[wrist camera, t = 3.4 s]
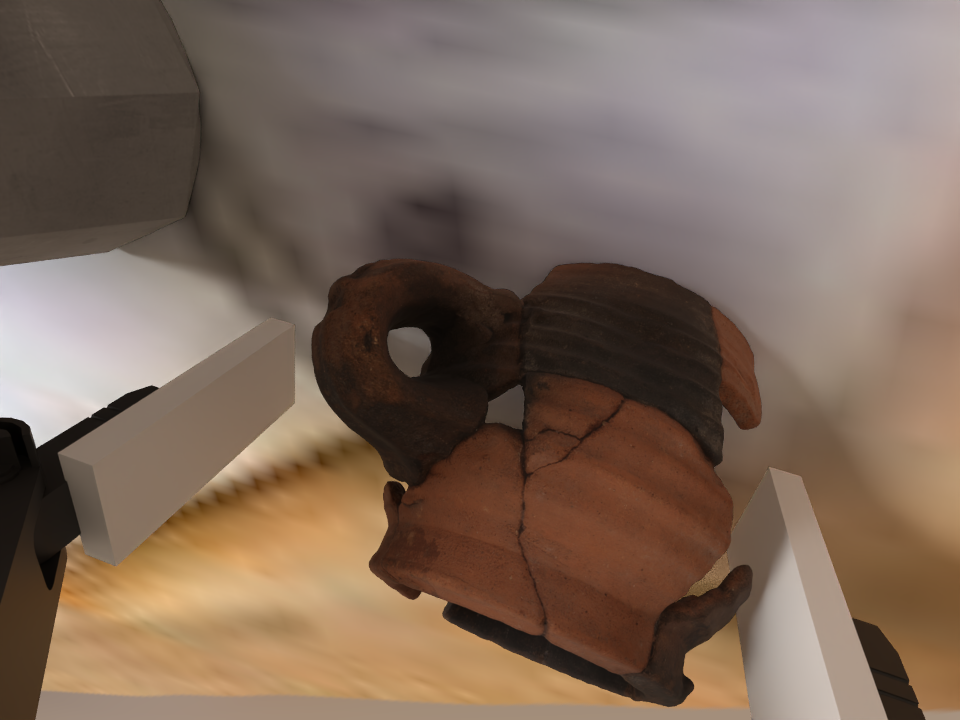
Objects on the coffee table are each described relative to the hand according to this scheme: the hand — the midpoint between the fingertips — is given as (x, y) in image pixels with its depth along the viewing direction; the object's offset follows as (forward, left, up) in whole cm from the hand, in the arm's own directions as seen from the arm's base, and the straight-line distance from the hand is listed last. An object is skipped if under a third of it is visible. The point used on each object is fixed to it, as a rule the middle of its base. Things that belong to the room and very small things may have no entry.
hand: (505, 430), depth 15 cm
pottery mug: (+1, +1, -2) cm, 2 cm away
